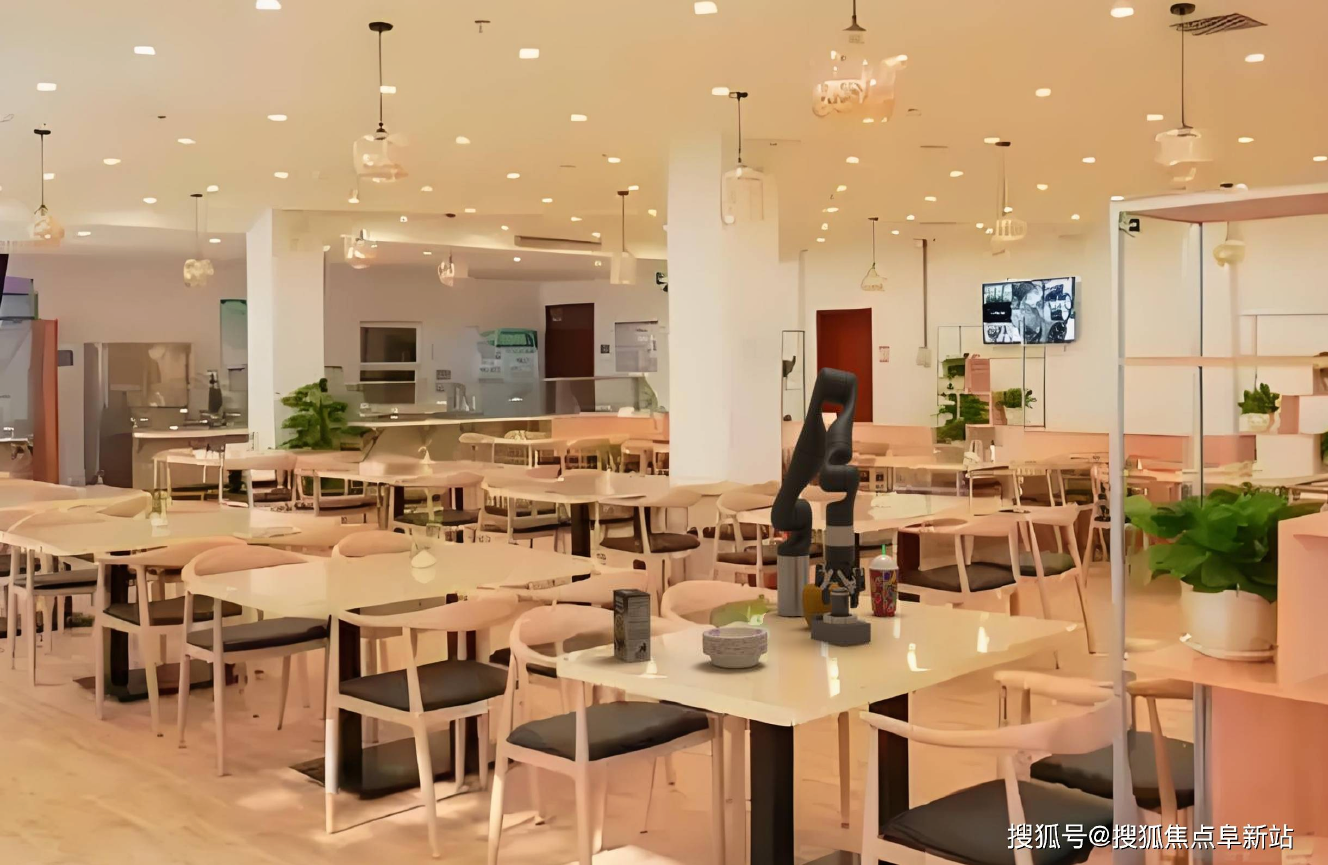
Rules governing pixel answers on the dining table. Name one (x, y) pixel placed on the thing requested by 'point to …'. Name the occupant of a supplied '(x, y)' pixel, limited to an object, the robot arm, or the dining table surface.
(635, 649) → the coffee box
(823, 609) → the apple
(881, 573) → the smoothie
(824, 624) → the camera body
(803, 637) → the dining table surface
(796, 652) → the dining table surface
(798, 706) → the dining table surface
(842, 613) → the lens
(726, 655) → the paper bowls
